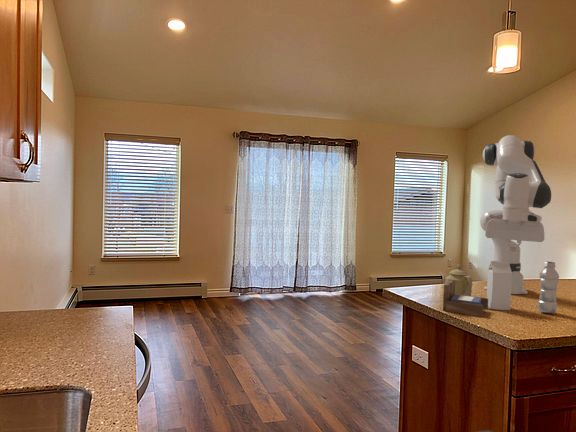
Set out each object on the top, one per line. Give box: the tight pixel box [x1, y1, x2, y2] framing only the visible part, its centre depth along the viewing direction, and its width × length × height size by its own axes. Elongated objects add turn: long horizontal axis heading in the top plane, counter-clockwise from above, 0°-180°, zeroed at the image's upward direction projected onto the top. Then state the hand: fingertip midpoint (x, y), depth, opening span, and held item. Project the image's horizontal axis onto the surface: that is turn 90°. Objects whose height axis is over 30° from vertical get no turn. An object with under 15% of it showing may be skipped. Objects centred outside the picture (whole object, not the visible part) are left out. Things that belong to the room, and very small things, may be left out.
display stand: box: [442, 280, 489, 317], centre depth 175 cm, size 15×14×10 cm
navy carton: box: [450, 295, 482, 305], centre depth 174 cm, size 9×10×5 cm
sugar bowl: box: [444, 263, 473, 296], centre depth 196 cm, size 15×11×15 cm
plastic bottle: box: [537, 261, 560, 314], centre depth 172 cm, size 6×7×20 cm
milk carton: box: [486, 260, 512, 311], centre depth 178 cm, size 7×7×19 cm
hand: (513, 251), depth 170 cm, fingers closed
